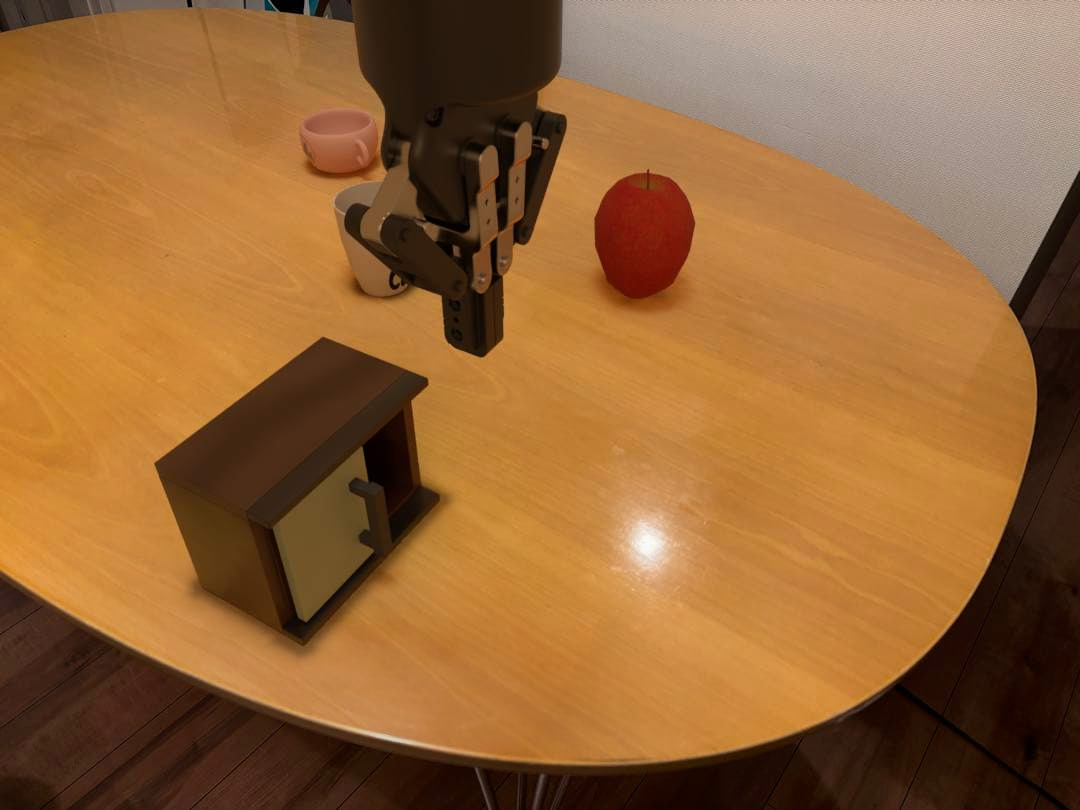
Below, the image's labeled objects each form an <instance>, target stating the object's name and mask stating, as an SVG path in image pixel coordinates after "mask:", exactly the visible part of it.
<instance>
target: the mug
mask: <svg viewBox="0 0 1080 810" xmlns="http://www.w3.org/2000/svg"><path fill="white" fill-rule="evenodd" d="M298 128H299V130H298V131H299V132H298V133H299V140H300V144H301V148H302V151H303V153H304V154H305V156H306V157H307V159H308V160H309V162H310V164H311V165H313V166H314V167H315V168H316V169H317V170H320V171H322V172H326V173H331V174H332V173H333V174H345V173H352V172H353V173H354V172H356V171H360V170H362V169H364V168H367V167H368V166H369V165H370V164H371V163H372V161H373V160H374V158H375V156H376V153H377V149H378V146H379V131H378V126H377V123H376V120H375V118H374V117H373V116H372V115H371V114H370V113H369V112H367V111H366V110H362V109H359V108H354V107H331V108H326V109H325V108H324V109H320V110H318V111H315V112H312V113H310V114H308V115H307V116H305V117H304V118H303V119H302V120H301V122H300V124H299V127H298Z"/></svg>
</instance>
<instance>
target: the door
mask: <svg viewBox="0 0 1080 810" xmlns="http://www.w3.org/2000/svg"><path fill="white" fill-rule="evenodd" d="M273 531H274V534H275V538H276V541H277V545H278V549H279V552H280V556H281V559H282V563H283V566H284V570H285V573H286V577H287V580H288V584H289V587H290V591H291V594H292V598H293V601H294V605H295V608H296V612H297V615H298V618H300V619H301V620H303V621H305V622H307V621H308V620H309V619H310V618H311V617H312V616H313V615H314V614H315V613H316V612H317V611H318V610H319V609H320V608H321V607H322V606H323V604H324V603H325V602H326V601H327V600H328V599H329V598H330V597H331V596H332V595H333V594H334V593H335V592H336V591H337V590H338V589H339V588H340V587H341V586H342V585H343V584H344V582H345V581H346V580H347V579H348V578H349V577H350V576H351V575H352V574H353V573H354V572H355V571H356V570H357V569H358V568H359V567H360V566H361V565H362V564H363V563H364V561H365V560H366V559H367V558H368V557H369V556H370V555H371V554H372V553H373V552H374V553H375V554H377V555H379V556H381V557H383V558H385V557H386V556H387V555H388V554H389V553H390V552H391V551H392V550H393V546H392V540H391V534H390V527H389V521H388V515H387V508H386V502H385V496H384V489H383V486H381V485H379V484H376V483H374V482H371V483H369V482H368V476H367V471H366V465H365V459H364V453H363V447H362V446H361V447H360V448H359V449H358V450H357V451H356V452H355V453H354V454H353V455H351V456H350V457H349V458H348V459H347V460H346V461H345V462H344V463H343V464H342V465H340V466H339V467H338V468H337V469H336V470H335V471H334V472H333V473H332V474H331V475H329V476H328V477H327V478H326V479H325V480H324V481H323V482H322V483H321V484H320V485H318V486H317V487H316V488H315V489H314V490H313V491H312V492H311V493H310V494H309V495H307V496H306V497H305V498H304V499H303V500H302V501H301V502H300V503H299V504H298V505H297V506H295V507H294V508H293V509H292V510H291V511H290V512H289V513H288V514H287V515H286V516H284V517H283V518H282V519H281V520H280V521H279V522H278V523H277V524H276V525H275V526H273ZM393 551H394V550H393ZM393 551H392V552H393ZM392 552H391V553H392ZM391 553H390V554H391ZM390 554H389V555H390ZM389 555H388V556H389ZM388 556H387V557H388ZM387 557H386V558H387ZM386 558H385V559H386Z"/></svg>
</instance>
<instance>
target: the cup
mask: <svg viewBox="0 0 1080 810" xmlns="http://www.w3.org/2000/svg"><path fill="white" fill-rule="evenodd" d="M382 182H383V180H369V181H364V182H358V183H354V184H351V185H349V186H347V187H345V188H342V189H341V190H339V191H338V192H337V193H336V194H335V195H334V197H333V198H332V206H333V210H334V211H333V212H334V215H335V219H336V224H337V228H338V232H339V237H340V240H341V244H342V247H343V249H344V252H345V254H346V258H347V261H348V263H349V266H350V268H351V271H352V273H353V275H354V277H355V278H356V280H357V283H358V284H359V286H360V288H361V289H362V291H363V292H365V293H366V294H367V295H370V296H374V297H379V298H380V297H384V298H385V297H391V296H396V295H398V294H400V293H402V292H403V291H405V290H406V289H407V288H408V286H409V284H407V283H405V282H404V281H403V280H402V279H401V278H399V277H398V276H397V275H396V274H395V273H394V272H392V271H391V270H390V269H389V268H388V267H387V266H385V265H384V264H383V263H382V262H381V261H380V260H378V259H377V258H376V257H375V256H374V255H373V254H371V253H370V252H369V251H368V250H367V249H365V248H364V247H363V246H362V245H361V244H360V243H358V242H357V241H356V240H355V239H354V238H353V237H351V236H350V235H349V234H348V233H347V232H346V230H345V227H344V218H345V214H346V212H347V210H348V208H349V207H350V206H351V205H352V204H354V203H360V204H363V205H367V206H370V207H371V205H372V203H373V201H374V199H375V197H376V195H377V193H378V190H379V188H380V186H381V184H382Z"/></svg>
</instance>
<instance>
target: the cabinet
mask: <svg viewBox="0 0 1080 810" xmlns="http://www.w3.org/2000/svg"><path fill="white" fill-rule="evenodd" d="M428 387H429V377H427V376H424V375H421V374H419V373H416V372H414V371H411V370H408V369H406V368H404V367H401V366H399V365H396V364H394V363H391V362H389V361H386V360H384V359H381V358H378V357H376V356H374V355H371V354H368V353H365V352H364V351H361V350H358V349H356V348H353V347H350V346H348V345H346V344H343V343H341V342H337V341H335V340H333V339H330V338H328V337H325V336H321V337H320V338H319V339H317V340H316V341H315V342H313V343H312V344H311V345H310V346H308V347H307V348H305V349H304V350H303V351H302V352H300V353H299V354H297V355H296V356H294V357H293V358H292V359H291V360H289V361H288V362H286V363H285V364H284V365H283V366H282V367H280V368H279V369H278V370H276V371H275V372H273V373H272V374H271V375H269V376H268V377H267V378H265V379H264V380H263V381H261V382H260V383H259V384H258V385H256V386H255V387H253V388H252V389H251V390H249V391H248V392H247V393H245V394H244V395H242V397H240V398H239V399H238V400H236V401H234V402H233V403H232V404H231V405H230V406H228V407H226V408H225V409H224V410H223V411H221V412H220V413H219V414H217V415H216V416H215V417H213V418H212V419H211V420H209V421H208V422H207V423H205V424H204V425H203V426H201V427H200V428H199V429H197V430H196V431H195V432H193V433H192V434H190V436H188V437H187V438H185V439H184V440H183V441H182V442H180V443H179V444H178V445H176V446H175V447H173V448H172V449H171V450H169V451H167V453H166V454H164V455H163V456H161V457H160V458H159V459H157V460H156V461H155V462H154V463H153V465H154V467H155V470H156V472H157V475H158V478H159V481H160V482H161V486H162V488H163V491H164V493H165V495H166V499H167V501H168V503H169V506H170V509H171V511H172V514H173V517H174V519H175V521H176V524H177V527H178V529H179V532H180V534H181V537H182V539H183V542H184V545H185V548H186V550H187V552H188V556H189V557H190V558H189V559H190V561H191V563H192V565H193V568H194V571H195V573H196V576H197V579H198V581H199V584H200V586H201V588H203V589H204V590H206V591H208V592H209V593H211V594H213V595H215V596H216V597H218V598H220V599H221V600H223V601H224V602H226V603H228V604H229V605H232V606H234V607H235V608H237V609H239V610H240V611H242V612H244V613H246V614H247V615H249V616H250V617H253V618H255V619H256V620H258V621H259V622H261V623H264V625H267V626H268V627H270V628H272V629H273V630H275V631H276V632H278V633H280V634H282V635H283V636H286V637H288V638H289V639H291V640H292V641H295V642H296V643H298V644H299V645H302V646H305V645H306V644H307V643H308V641H310V640H311V639H312V638H313V636H315V634H316V633H317V632H318V631H319V630H320V629H321V628H322V627H323V626H324V624H326V622H327V621H328V620H329V619H330V618H331V617H332V616H333V615H334V614H335V613H336V612H337V611H338V610H339V608H341V607H342V605H343V604H345V602H346V601H347V600H348V599H349V598H350V597H351V596H352V595H353V594H354V593H355V591H356V590H357V589H358V588H360V586H361V585H362V584H363V583H364V582H365V581H366V580H367V578H368V577H369V576H371V574H373V572H374V571H375V570H376V569H377V568H378V567H379V566H380V565H381V564H382V563H383V561H385V560H386V558H388V556H389V555H390V554H391V553H392V552H393V551H394V550H395V549H396V548H397V547H398V546H399V544H401V542H402V541H403V540H404V539H405V538H406V537H407V536H408V535H409V534H410V533H411V532H412V531H413V530H414V528H415V527H416V526H417V525H418V524H419V523H420V522H421V521H422V520H423V519H424V518H425V516H427V514H428V513H429V512H430V511H431V510H432V509H433V508H434V507H435V506H436V505H437V503H439V501H440V500H441V495H440V493H438V492H436V491H434V490H431V489H430V488H427V487H425V486H423V485H422V480H421V470H420V463H419V462H420V461H419V455H418V454H419V453H418V445H417V436H416V429H415V421H414V412H413V411H414V410H413V404H412V403H413V402H412V401H413V400H414V399H415V398H416V397H417V396H419V395H420V394H421V393H422V392H423V391H424V390H425V389H426V388H428ZM361 446H362V447H363V453H364V459H365V465H366V471H367V476H368V482H369V483H371V482H374V483H376V484H379V485H381V486H383V489H384V496H385V502H386V508H387V515H388V521H389V527H390V534H391V540H392V546H393V550H392V551H391V552H390V553H389V554H388V555H387V556H386V557H385V558H383V557H381V556H379V555H377V554H375V553H374V552H373V553H372V554H371V555H370V556H369V557H368V558H367V559H366V560H365V561H364V563H363V564H362V565H361V566H360V567H359V568H358V569H357V570H356V571H355V572H354V573H353V574H352V575H351V576H350V577H349V578H348V579H347V580H346V581H345V582H344V584H343V585H342V586H341V587H340V588H339V589H338V590H337V591H336V592H335V593H334V594H333V595H332V596H331V597H330V598H329V599H328V600H327V601H326V602H325V603H324V604H323V606H322V607H321V608H320V609H319V610H318V611H317V612H316V613H315V614H314V615H313V616H312V617H311V618H310V619H309V620H308V621H307V622H305V621H303V620H301V619H300V618H298V615H297V612H296V608H295V605H294V601H293V598H292V594H291V591H290V587H289V584H288V580H287V577H286V573H285V570H284V566H283V563H282V559H281V556H280V552H279V549H278V545H277V541H276V538H275V534H274V531H273V526H275V525H276V524H277V523H278V522H279V521H280V520H281V519H282V518H283V517H284V516H286V515H287V514H288V513H289V512H290V511H291V510H292V509H293V508H294V507H295V506H297V505H298V504H299V503H300V502H301V501H302V500H303V499H304V498H305V497H306V496H307V495H309V494H310V493H311V492H312V491H313V490H314V489H315V488H316V487H317V486H318V485H320V484H321V483H322V482H323V481H324V480H325V479H326V478H327V477H328V476H329V475H331V474H332V473H333V472H334V471H335V470H336V469H337V468H338V467H339V466H340V465H342V464H343V463H344V462H345V461H346V460H347V459H348V458H349V457H350V456H351V455H353V454H354V453H355V452H356V451H357V450H358V449H359V448H360V447H361Z"/></svg>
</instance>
